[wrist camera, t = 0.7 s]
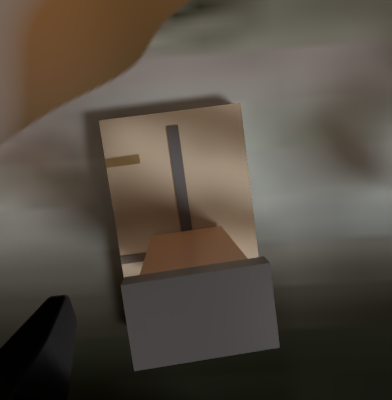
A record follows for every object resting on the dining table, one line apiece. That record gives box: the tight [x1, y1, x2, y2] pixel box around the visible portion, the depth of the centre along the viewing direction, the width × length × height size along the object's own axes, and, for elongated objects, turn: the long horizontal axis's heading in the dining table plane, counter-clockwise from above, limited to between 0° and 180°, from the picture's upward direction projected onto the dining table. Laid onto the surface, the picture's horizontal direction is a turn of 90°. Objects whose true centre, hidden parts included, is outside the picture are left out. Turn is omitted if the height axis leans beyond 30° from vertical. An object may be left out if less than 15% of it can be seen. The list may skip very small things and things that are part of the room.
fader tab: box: [120, 226, 280, 371], centre depth 19 cm, size 4×6×11 cm, turn 98°
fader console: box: [99, 103, 258, 277], centre depth 25 cm, size 16×10×2 cm, turn 8°
